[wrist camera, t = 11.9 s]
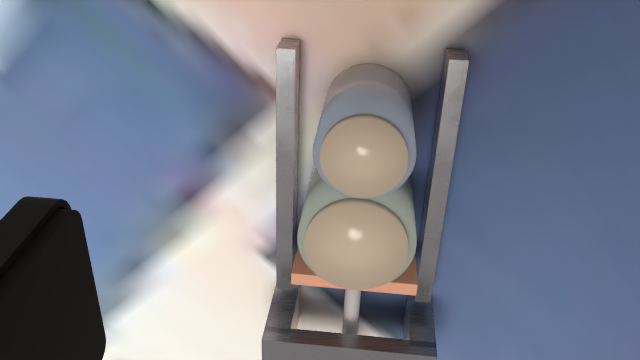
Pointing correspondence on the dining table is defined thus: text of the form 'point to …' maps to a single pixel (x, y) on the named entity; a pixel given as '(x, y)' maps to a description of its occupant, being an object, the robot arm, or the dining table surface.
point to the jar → (366, 133)
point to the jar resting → (357, 235)
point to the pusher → (352, 297)
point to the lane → (281, 326)
